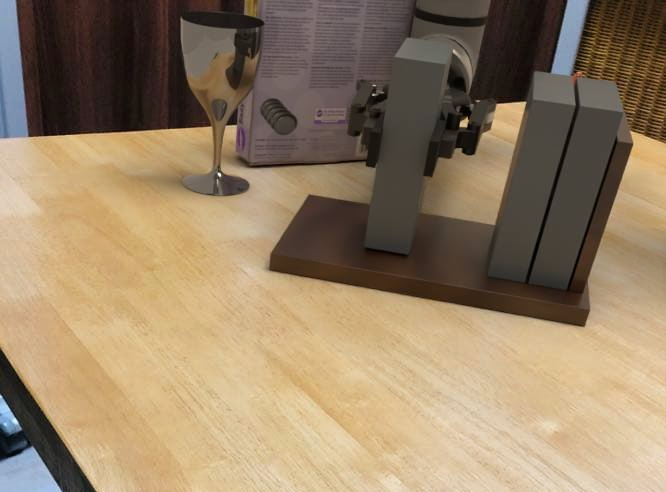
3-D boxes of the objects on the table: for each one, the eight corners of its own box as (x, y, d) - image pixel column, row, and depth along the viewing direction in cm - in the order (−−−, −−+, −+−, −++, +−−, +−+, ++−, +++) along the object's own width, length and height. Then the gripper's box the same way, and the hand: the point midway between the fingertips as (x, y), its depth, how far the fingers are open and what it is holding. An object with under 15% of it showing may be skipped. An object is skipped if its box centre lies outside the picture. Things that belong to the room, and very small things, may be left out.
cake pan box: (378, 146, 105) (404, -25, 94) (398, 159, 102) (428, -17, 90) (231, 154, 99) (241, -29, 87) (248, 169, 95) (260, -20, 84)
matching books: (564, 247, 80) (616, 82, 71) (566, 290, 73) (624, 111, 64) (492, 235, 81) (534, 70, 72) (486, 276, 74) (532, 98, 65)
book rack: (579, 254, 83) (628, 103, 74) (584, 326, 71) (644, 155, 63) (307, 209, 87) (323, 59, 78) (269, 269, 75) (283, 101, 66)
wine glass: (194, 199, 87) (198, 29, 77) (167, 173, 92) (168, 10, 82) (265, 193, 90) (278, 28, 80) (236, 168, 95) (244, 11, 85)
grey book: (418, 223, 81) (454, 44, 72) (408, 255, 75) (445, 63, 66) (376, 216, 82) (406, 37, 72) (363, 247, 76) (393, 56, 66)
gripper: (506, 140, 88) (496, 219, 70) (342, 115, 90) (293, 185, 73) (527, 58, 83) (522, 120, 65) (353, 33, 85) (303, 87, 68)
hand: (401, 154), depth 69 cm, fingers closed on grey book, 4 cm apart
